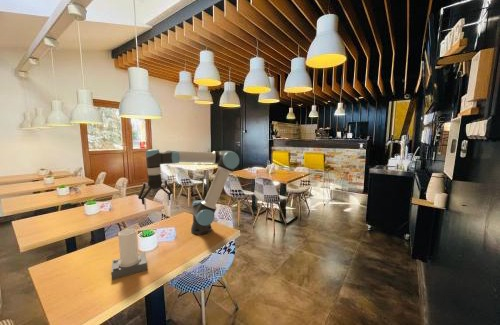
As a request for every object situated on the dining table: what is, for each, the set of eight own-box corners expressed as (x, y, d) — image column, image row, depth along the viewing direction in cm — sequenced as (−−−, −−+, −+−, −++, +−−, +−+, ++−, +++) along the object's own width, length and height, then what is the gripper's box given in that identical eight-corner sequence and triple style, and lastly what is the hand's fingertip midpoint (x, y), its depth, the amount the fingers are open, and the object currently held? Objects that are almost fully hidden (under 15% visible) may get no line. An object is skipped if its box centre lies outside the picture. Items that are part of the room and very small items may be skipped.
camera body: (145, 259, 126) (145, 250, 125) (147, 269, 115) (146, 260, 115) (113, 267, 118) (112, 258, 117) (111, 279, 107) (111, 270, 107)
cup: (130, 265, 111) (128, 235, 110) (116, 264, 113) (114, 234, 111) (141, 257, 119) (139, 229, 118) (128, 255, 121) (126, 228, 119)
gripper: (173, 171, 145) (175, 202, 148) (131, 175, 132) (134, 209, 135) (176, 172, 139) (178, 204, 141) (132, 177, 126) (135, 212, 128)
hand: (157, 207), depth 138 cm, fingers open, 13 cm apart
